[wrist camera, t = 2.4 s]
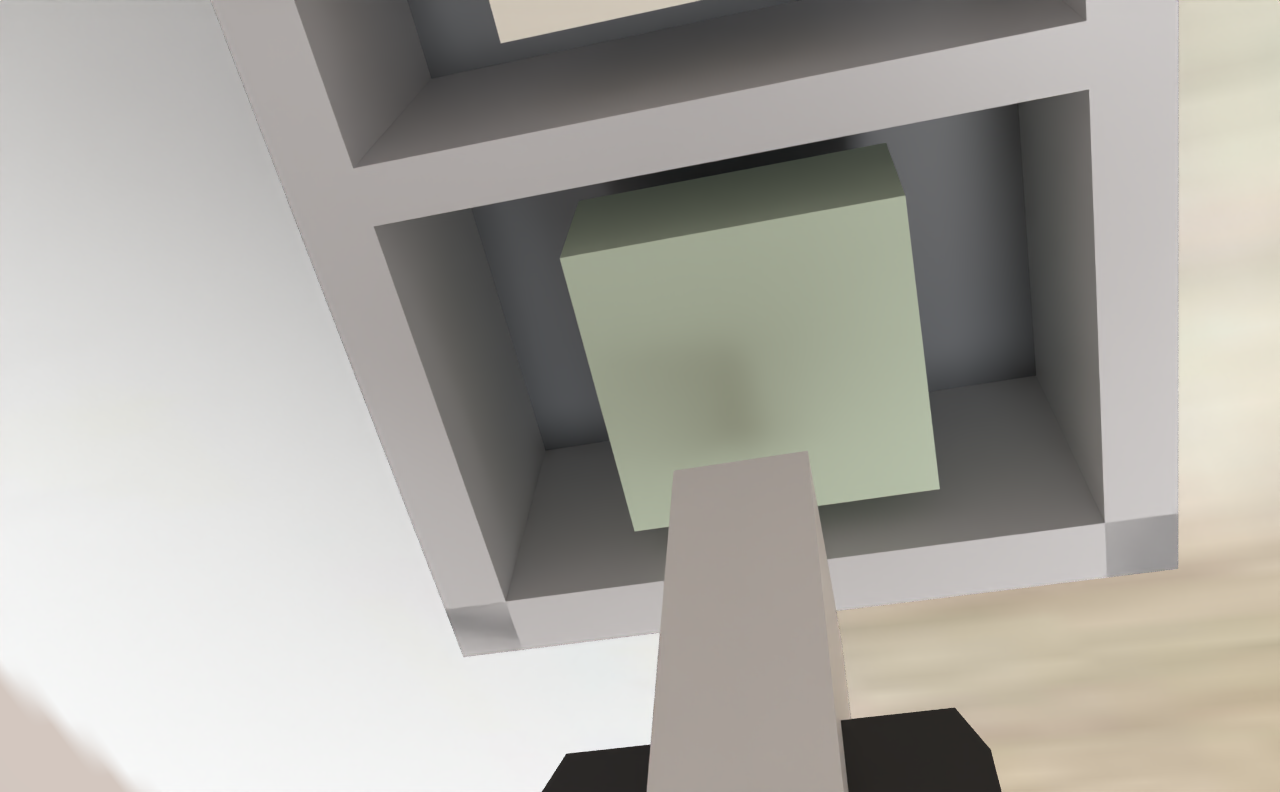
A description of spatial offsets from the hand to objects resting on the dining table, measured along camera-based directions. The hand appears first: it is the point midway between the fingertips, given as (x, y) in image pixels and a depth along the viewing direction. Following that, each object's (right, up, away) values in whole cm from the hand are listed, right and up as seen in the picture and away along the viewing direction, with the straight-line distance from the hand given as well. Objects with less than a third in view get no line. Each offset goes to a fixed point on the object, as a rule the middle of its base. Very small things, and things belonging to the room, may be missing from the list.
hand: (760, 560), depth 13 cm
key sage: (0, +3, +5) cm, 6 cm away
